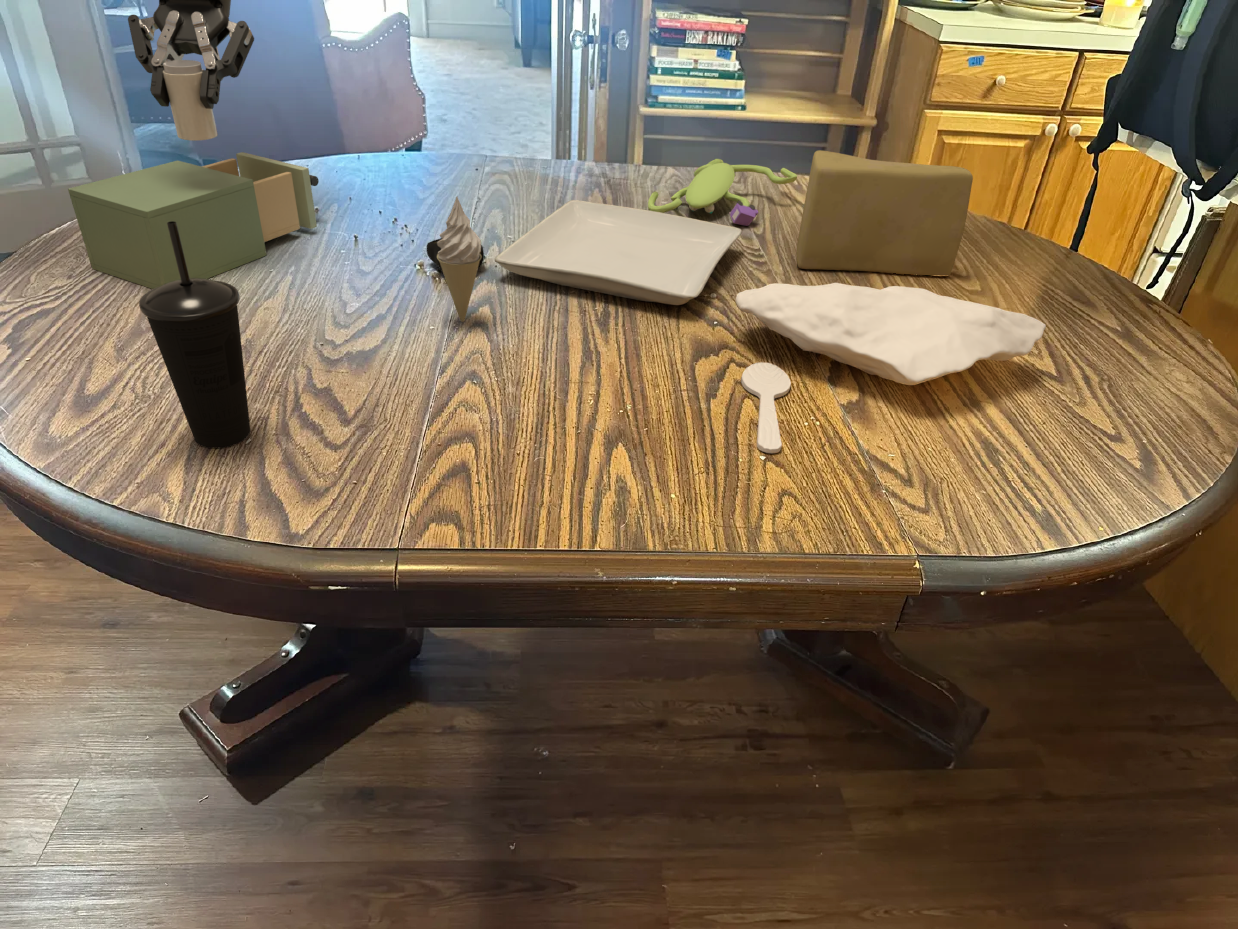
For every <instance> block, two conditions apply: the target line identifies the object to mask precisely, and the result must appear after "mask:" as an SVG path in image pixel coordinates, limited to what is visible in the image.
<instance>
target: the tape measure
mask: <svg viewBox="0 0 1238 929" xmlns="http://www.w3.org/2000/svg"><path fill="white" fill-rule="evenodd" d="M440 240H442V238H441V237H440V238H437V239H433V240H430V241H429V242H428V243H426V255H427V257H428V258H429V259H430V260H431V262H432V263H434V264H435V265H436V266H437V267H438V268H439V269H440V272H442V273H443V270H442V267H441V265H440V262H439V260H438V259H437V255H438V252H439V251H440V250H441V248H440V247H439V246H438V245H437V242H438V241H440ZM484 252H485V251H484V246H483V245H482V244H481V252H480V254H481V256H482V258H481V260H480V261H479V265H478V269H480V268H481V267H482V266H483V263H484V260H485V256H484Z"/></svg>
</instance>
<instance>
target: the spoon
mask: <svg viewBox="0 0 1238 929" xmlns="http://www.w3.org/2000/svg"><path fill="white" fill-rule="evenodd" d="M740 378H741V379H740V383H741V385H742V387H743V388H744V390H746V391H747V392H748V393H750V394H752V395H754V396H756V397H758V399H759V405H758V419H757V433H756V447H757V449H758V450H760V451H761V452H763V453H766V454H776V453H779V452H780V451H781V450H782V447H783V444H782V442H783V441H782V439H781V433H780V425H779V421H778V415H777V410H776V408H777V407H776V404H775V399H777V398H781V397H784V396H785V395H787V394H788V393H789V392H790V390H791V385H792V383H791V379H790V376H789V375H788V373H786V372H785V370H783V369H782V368H781V367H779V366H778V365H777V364H776V365H775V364H773V363H771V362H763V361H760V362H759V361H758V362H754V363H752V364H750V365H748V366H747V367H745V369H744V371H743V372H742V374H741V376H740Z"/></svg>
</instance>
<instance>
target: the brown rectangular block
mask: <svg viewBox="0 0 1238 929" xmlns="http://www.w3.org/2000/svg"><path fill="white" fill-rule="evenodd" d="M973 179H974V177H973V174H972V172H971V171H970V170H969V169H967V168H964V167H961V166H956V165H955V166H953V165H936V164H921V163H909V162H899V161H896V162H895V161H885V160H877V159H869V158H863V157H859V156H854V155H850V154H845V153H839V152H834V151H827V150H820V149H819V150H816V151H815V152H814V153H813V156H812V161H811V166H810V171H809V176H808V181H807V182H808V183H807V187H806V192H805V199H804V204H803V208H802V209H803V210H802V214H801V220H800V224H799V225H800V226H799V231H798V237H797V241H796V249H795V250H796V254H795V255H796V265H797V267H798V268H799V269H801V270H823V271H850V272H851V271H852V272H853V271H855V272H872V273H885V274H893V273H896V275H904V274H917V275H949V276H951V274H952V271H953V268H954V265H955V262H956V258H957V255H958V252H959V248H960V246H961V241H962V238H963V235H964V231H965V227H966V222H967V217H968V211H969V207H970V206H969V205H970V198H971V192H972V187H973V181H974V180H973ZM917 275H916V276H917Z"/></svg>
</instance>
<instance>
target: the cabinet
mask: <svg viewBox="0 0 1238 929" xmlns="http://www.w3.org/2000/svg"><path fill="white" fill-rule="evenodd" d="M67 191H68V194H69V195H68V196H69V197H70V202H71V205H72V208H73V211H74V214H75V217H76V221H77V223H78V226H79V231H80V233H81V237H82V240H83V243H84V247H85V250H86V253H87V256H88V260H89V263H90V266H91V269H92V270H94V271H97V272H101V273H102V274H107V275H110V276H113V277H116V278H118V279H121V280H125V281H127V282H130V283H133V284H135V285H139V286H142V287H146V288H148V289H150V290H152V289H154V288H157V287H159V286H161V285H163V284H166V283H168V282H171V281H175V280H179V279H181V278H180V274H179V270H178V266H177V262H176V258H175V254H174V250H173V246H172V242H171V238H170V234H169V229H168V225H167V222H171V221H174V222H176V223H177V227H178V232H179V236H180V240H181V244H182V248H183V253H184V257H185V261H186V265H187V269H188V274H189V278H203V279H210V278H213V277H216V276H218V275H220V274H223V273H227V272H228V271H231V270H233V269H237V268H238V267H241V266H243V265H246V264H249V263H252V262H253V261H256V260H259V259H261V258H264V257H266V256H267V249H266V244H265V242H264V238H263V233H262V227H261V222H260V216H259V211H258V205H257V200H256V195H255V189H254V183H253V180H252V179H248V178H244V177H240V175H239V176H236V175H232V174H228V173H224V172H221V171H217V170H213V169H209V168H205V167H202V166H201V165H196V164H193V163H188V162H186V161H182V160H174V161H170V162H166V163H163V164H158V165H154V166H151V167H147V168H143V169H142V168H141V169H139V170H135V171H132V172H127V173H124V174H123V173H122V174H120V175H116V176H115V175H114V176H112V177H108V178H104V179H100V180H96V181H94V182H88V183H85V184H81V185H77V186H73V187H69V188H67Z"/></svg>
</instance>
